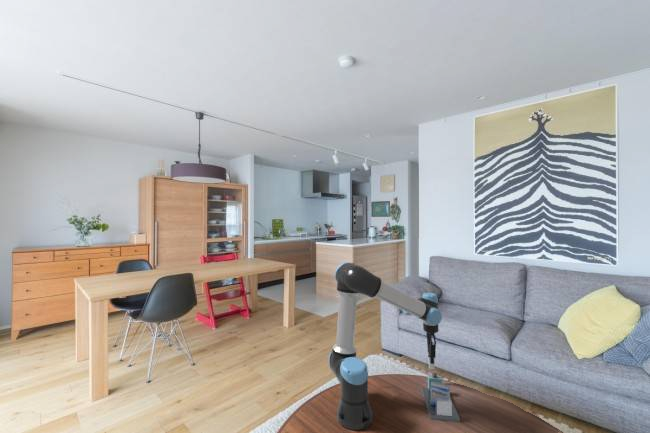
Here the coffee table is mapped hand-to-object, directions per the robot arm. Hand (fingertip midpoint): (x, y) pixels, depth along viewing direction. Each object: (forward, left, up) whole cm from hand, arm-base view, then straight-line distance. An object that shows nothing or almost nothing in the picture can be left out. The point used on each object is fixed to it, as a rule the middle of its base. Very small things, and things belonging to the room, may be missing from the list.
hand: (431, 368), depth 151 cm
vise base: (0, -18, -8) cm, 20 cm away
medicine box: (0, -20, -6) cm, 21 cm away
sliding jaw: (0, -9, -6) cm, 10 cm away
